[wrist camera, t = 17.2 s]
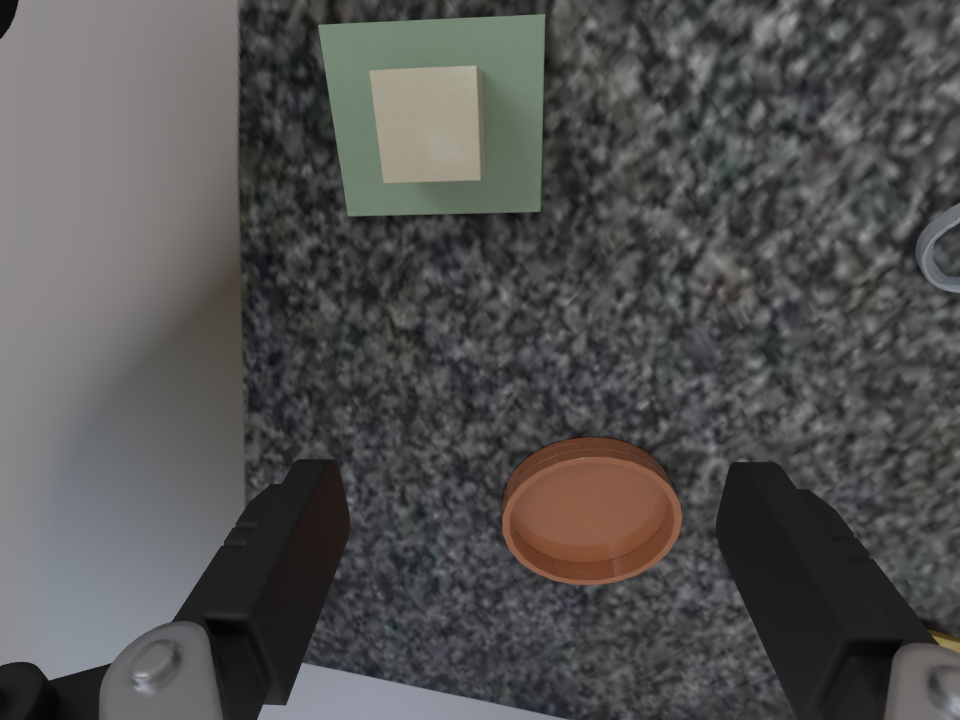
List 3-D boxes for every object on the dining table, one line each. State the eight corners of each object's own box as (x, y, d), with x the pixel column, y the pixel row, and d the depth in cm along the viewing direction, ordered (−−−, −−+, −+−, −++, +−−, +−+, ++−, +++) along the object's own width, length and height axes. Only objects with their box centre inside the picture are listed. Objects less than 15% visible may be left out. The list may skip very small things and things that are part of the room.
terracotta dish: (503, 559, 46) (503, 583, 44) (501, 436, 39) (501, 456, 37) (660, 562, 45) (667, 586, 43) (685, 437, 38) (696, 457, 36)
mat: (350, 214, 31) (347, 216, 31) (320, 25, 27) (317, 24, 26) (540, 210, 31) (540, 212, 30) (544, 15, 26) (545, 14, 26)
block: (401, 170, 30) (382, 184, 25) (391, 73, 27) (368, 70, 23) (485, 167, 29) (481, 180, 25) (482, 69, 27) (477, 65, 22)
